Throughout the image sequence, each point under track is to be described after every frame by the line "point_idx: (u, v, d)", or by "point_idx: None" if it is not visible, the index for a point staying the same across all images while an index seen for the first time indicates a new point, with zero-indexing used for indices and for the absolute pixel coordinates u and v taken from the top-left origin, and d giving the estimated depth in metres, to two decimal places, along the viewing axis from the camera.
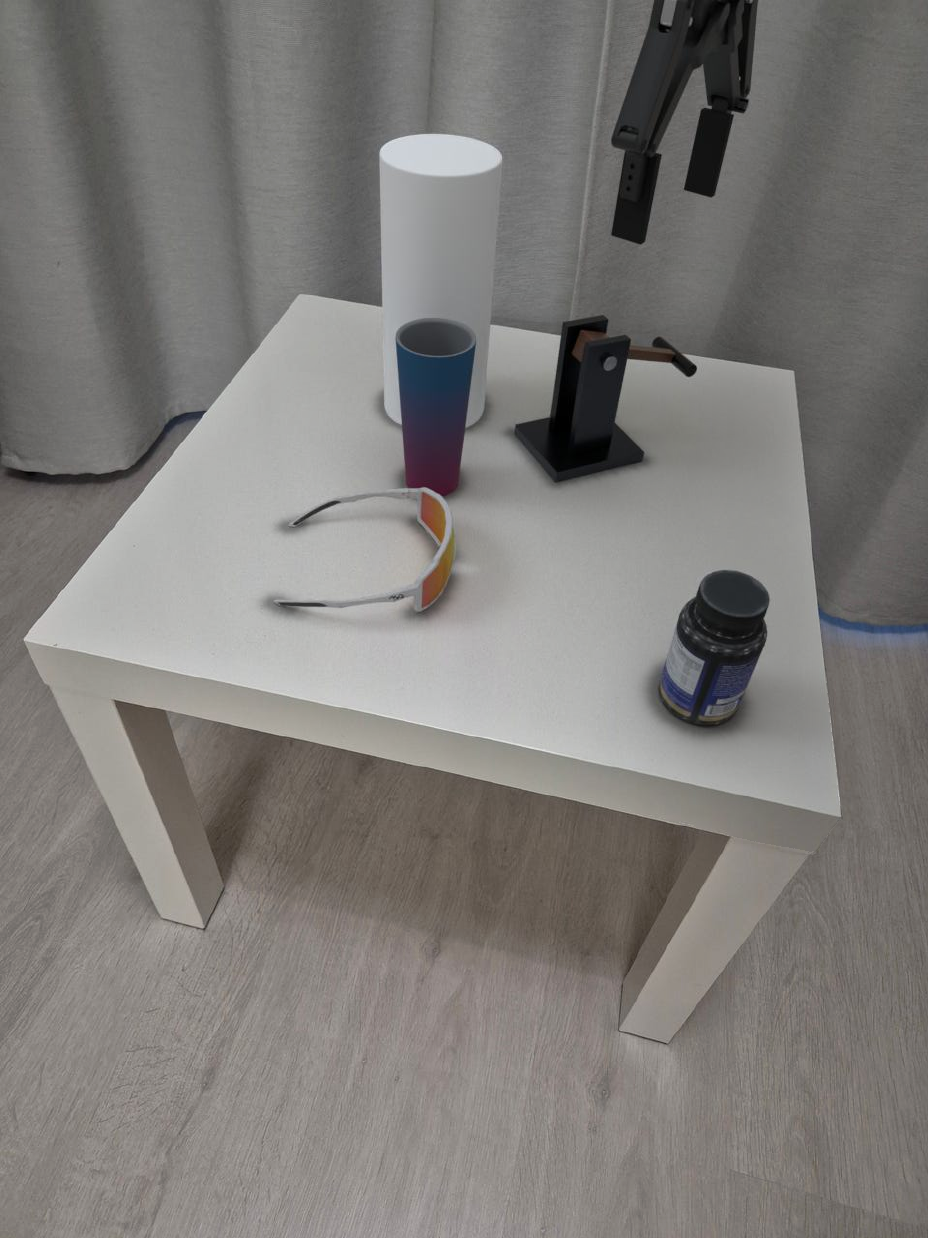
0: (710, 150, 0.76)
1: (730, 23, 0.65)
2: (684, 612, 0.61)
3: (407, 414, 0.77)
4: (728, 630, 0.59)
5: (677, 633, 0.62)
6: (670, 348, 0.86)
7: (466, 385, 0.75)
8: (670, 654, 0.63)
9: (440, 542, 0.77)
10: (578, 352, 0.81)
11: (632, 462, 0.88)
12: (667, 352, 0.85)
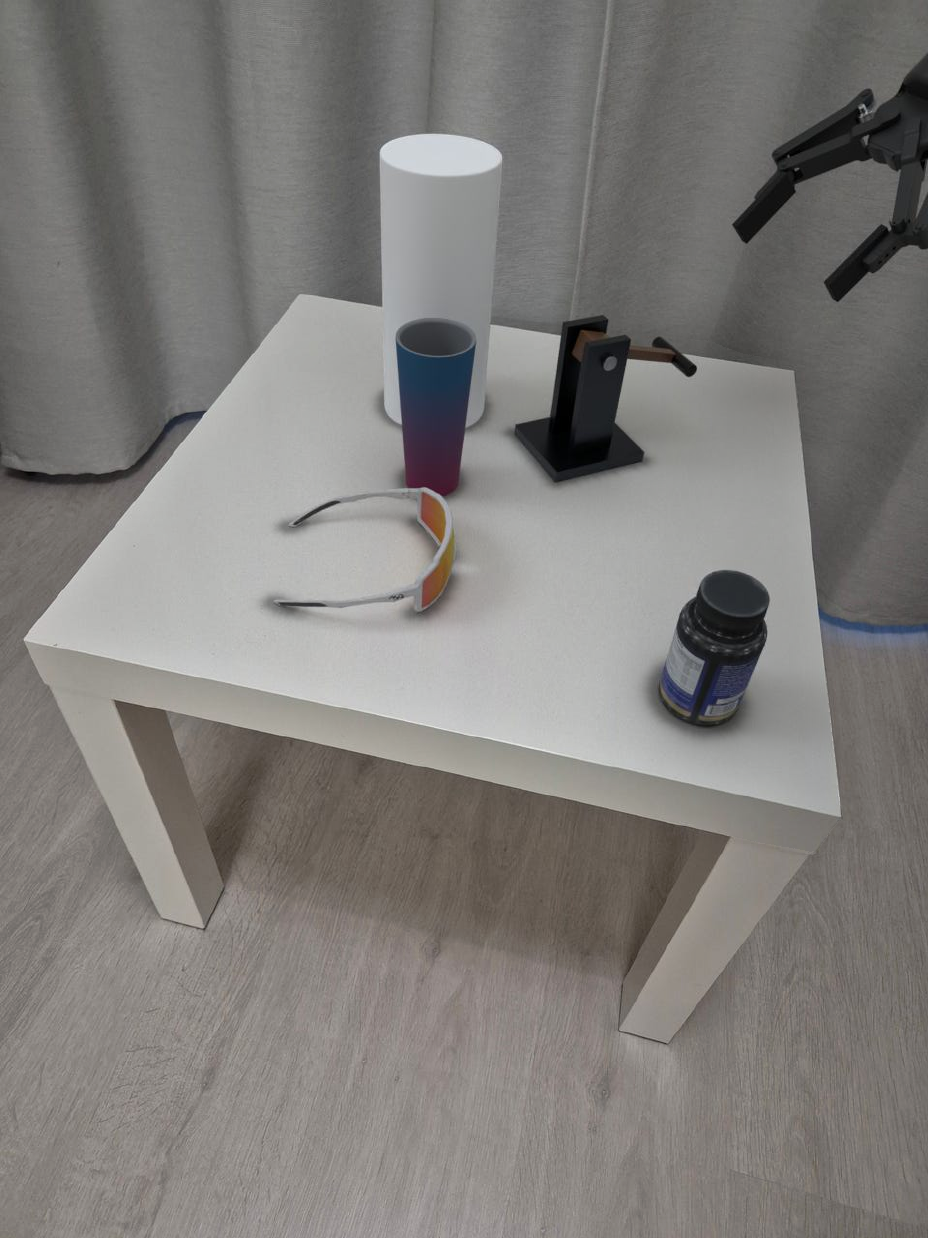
0: None
1: None
2: (684, 612, 0.61)
3: (407, 414, 0.77)
4: (729, 630, 0.59)
5: (677, 633, 0.62)
6: (670, 348, 0.86)
7: (466, 385, 0.75)
8: (670, 654, 0.63)
9: (440, 542, 0.77)
10: (578, 352, 0.81)
11: (632, 462, 0.88)
12: (667, 352, 0.85)
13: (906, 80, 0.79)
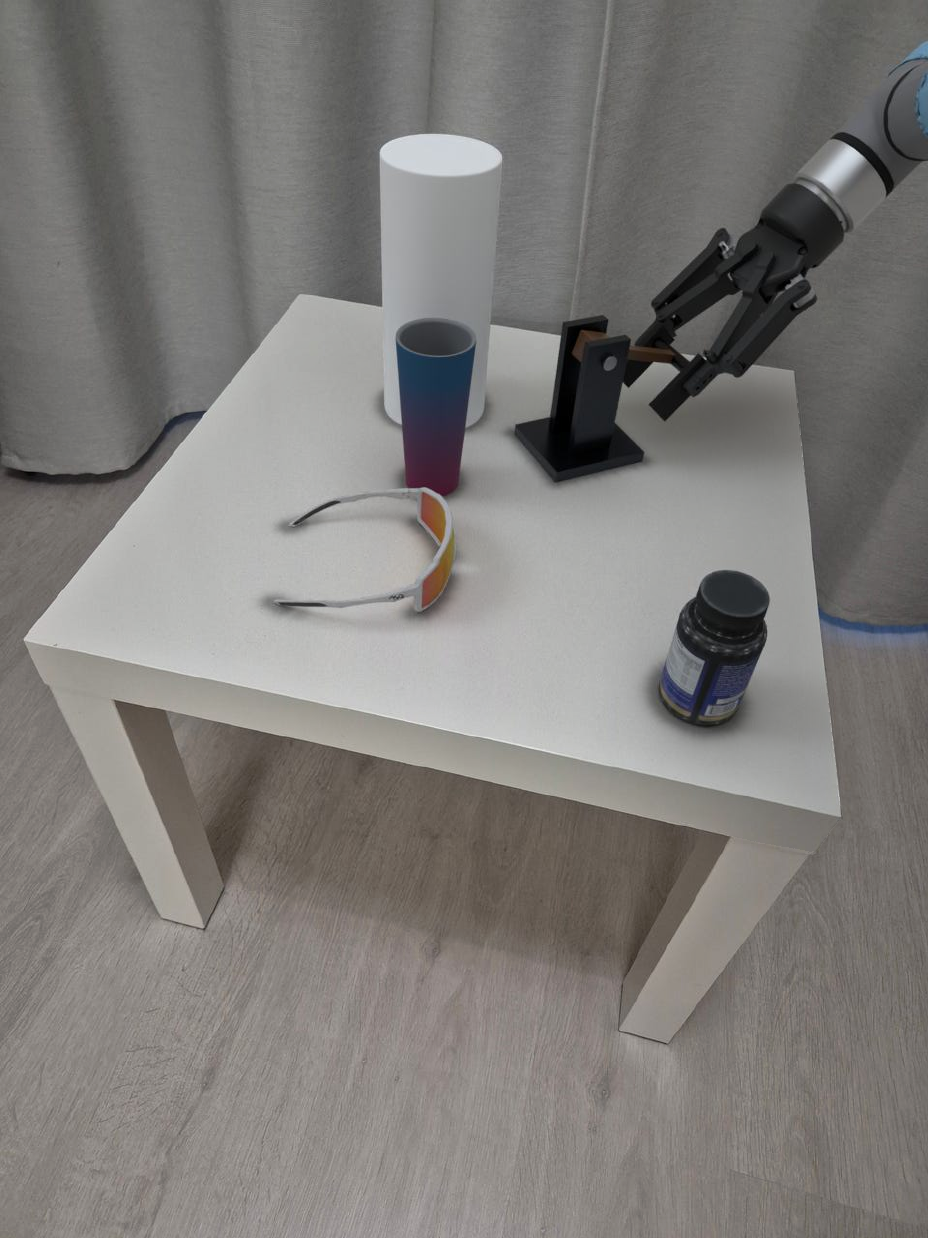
0: None
1: None
2: (684, 612, 0.61)
3: (407, 414, 0.77)
4: (729, 630, 0.59)
5: (677, 633, 0.62)
6: (669, 349, 0.86)
7: (466, 385, 0.75)
8: (670, 654, 0.63)
9: (440, 542, 0.77)
10: (578, 352, 0.81)
11: (632, 462, 0.88)
12: (667, 353, 0.85)
13: (762, 214, 0.82)
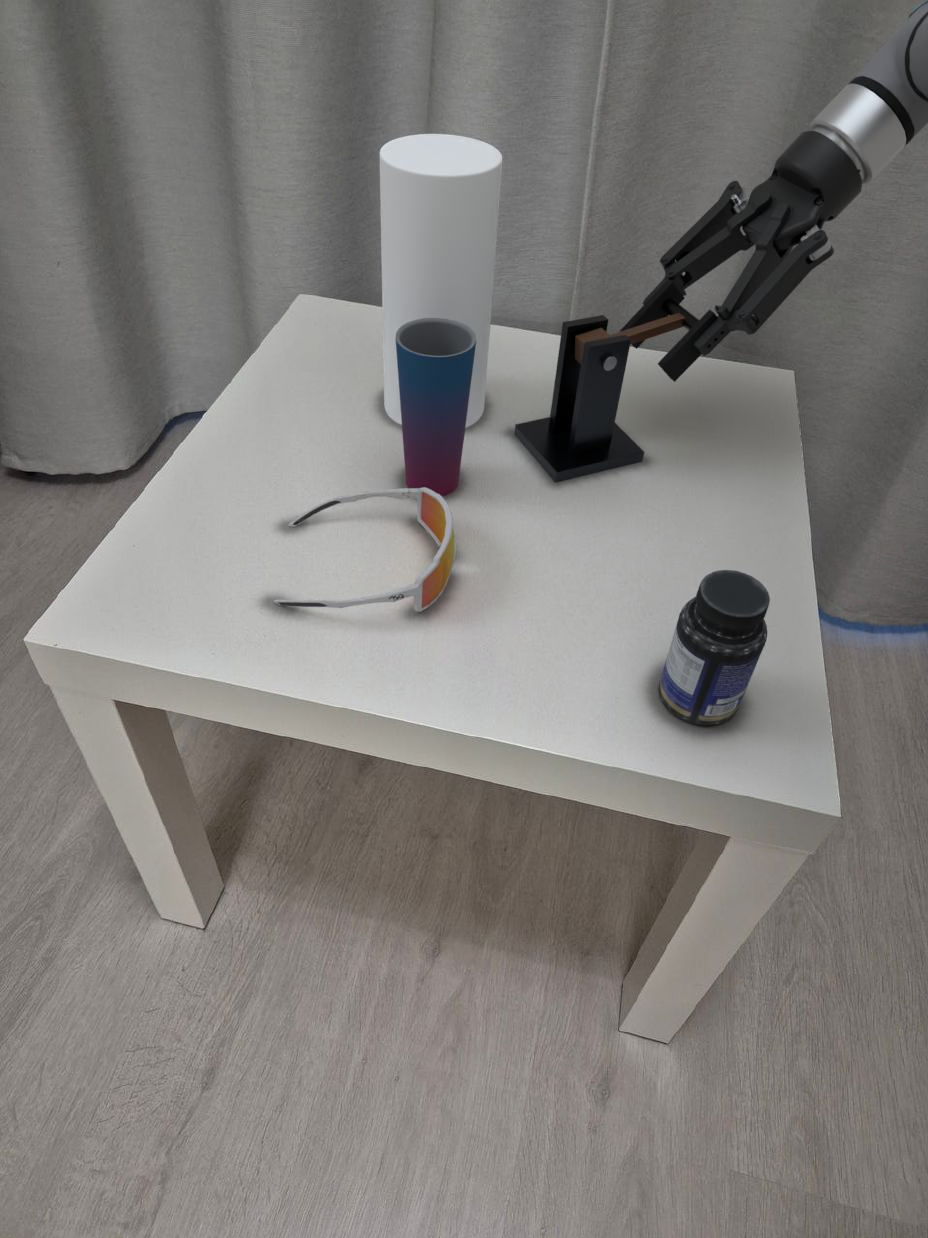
0: None
1: None
2: (684, 612, 0.61)
3: (407, 414, 0.77)
4: (729, 630, 0.59)
5: (677, 633, 0.62)
6: (678, 311, 0.84)
7: (466, 385, 0.75)
8: (670, 654, 0.63)
9: (440, 542, 0.77)
10: (580, 358, 0.82)
11: (632, 462, 0.88)
12: (675, 319, 0.83)
13: (776, 164, 0.79)
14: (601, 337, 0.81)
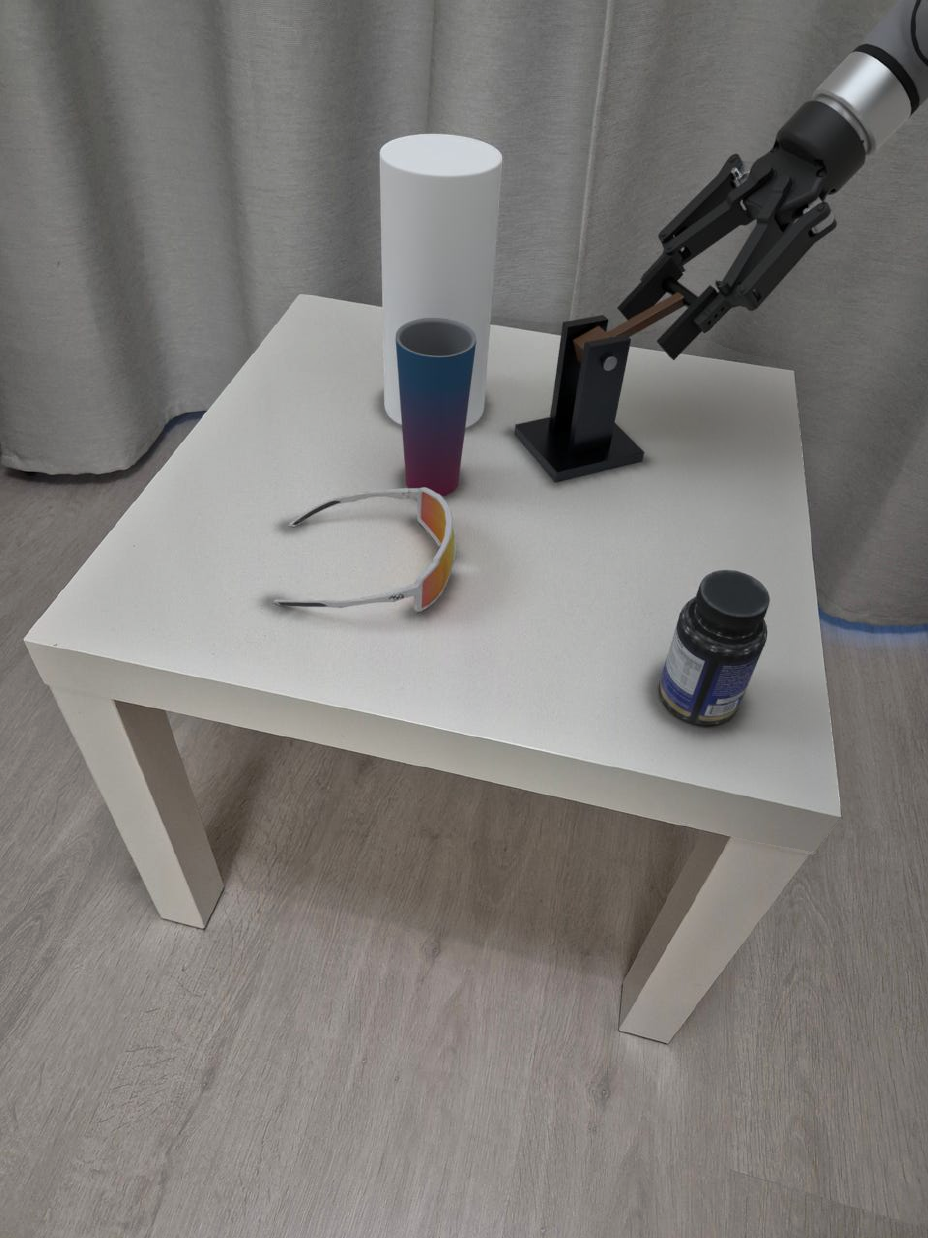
0: None
1: None
2: (684, 612, 0.61)
3: (407, 414, 0.77)
4: (729, 630, 0.59)
5: (677, 633, 0.62)
6: (677, 291, 0.82)
7: (466, 385, 0.75)
8: (670, 654, 0.63)
9: (440, 542, 0.77)
10: (581, 360, 0.82)
11: (632, 462, 0.88)
12: (674, 300, 0.81)
13: (777, 136, 0.77)
14: (598, 337, 0.80)
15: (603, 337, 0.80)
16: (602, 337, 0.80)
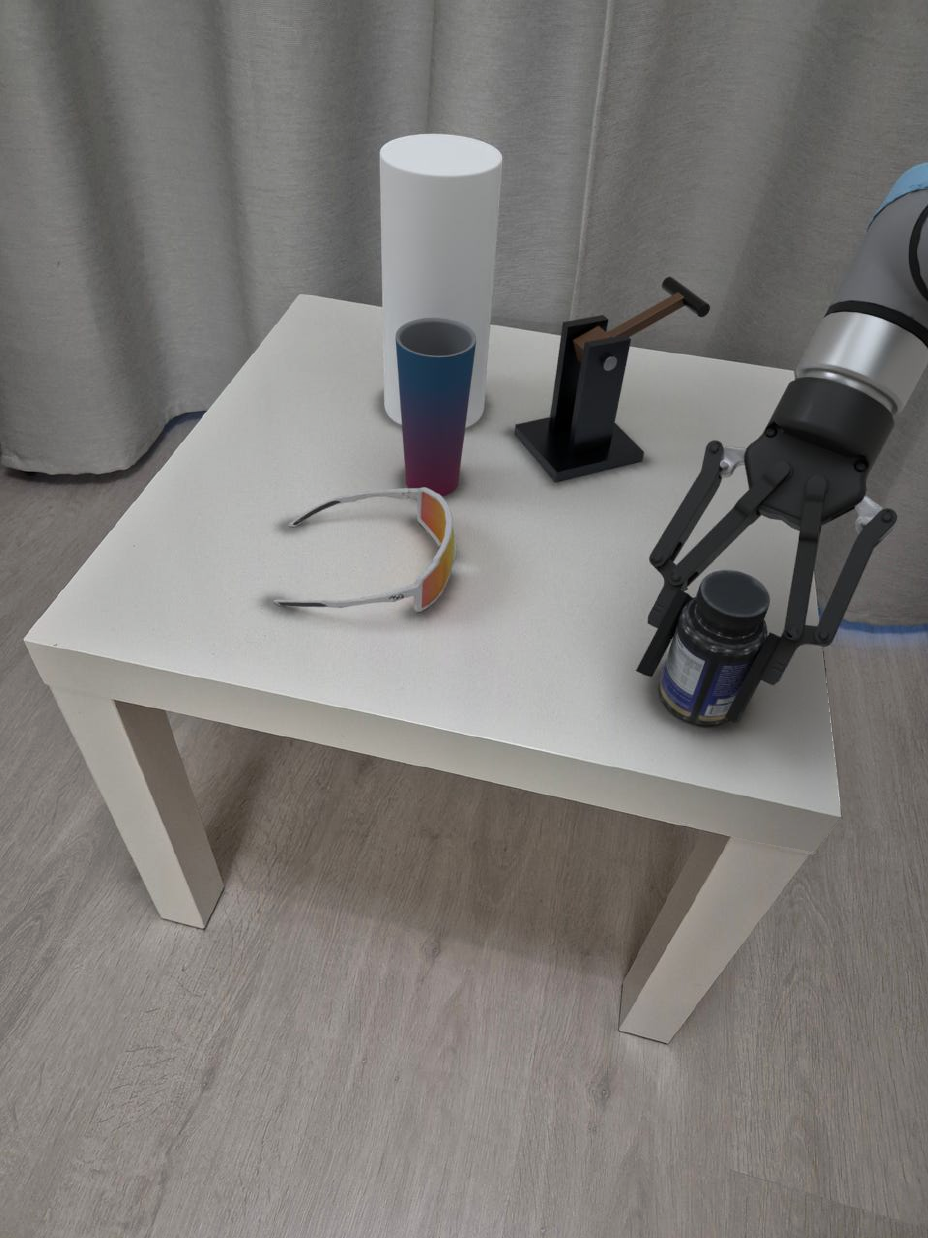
0: None
1: None
2: (684, 612, 0.61)
3: (407, 414, 0.77)
4: (729, 630, 0.59)
5: (677, 633, 0.62)
6: (677, 291, 0.82)
7: (466, 385, 0.75)
8: (670, 654, 0.63)
9: (440, 542, 0.77)
10: (581, 360, 0.82)
11: (632, 462, 0.88)
12: (674, 300, 0.81)
13: (784, 425, 0.59)
14: (598, 337, 0.80)
15: (603, 337, 0.80)
16: (602, 337, 0.80)
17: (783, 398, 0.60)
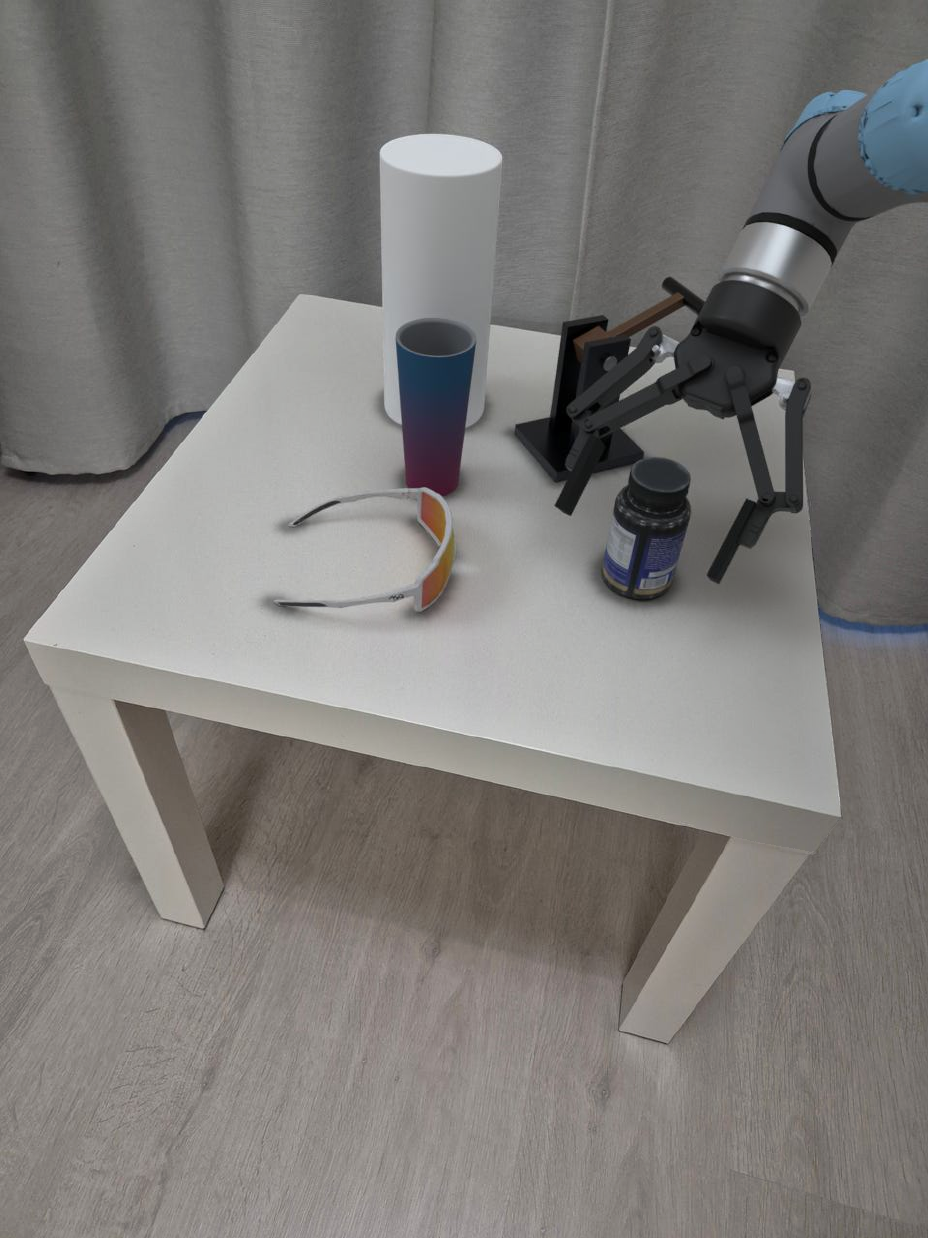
0: None
1: (728, 387, 0.68)
2: (619, 494, 0.70)
3: (407, 414, 0.77)
4: (655, 505, 0.68)
5: (613, 514, 0.71)
6: (677, 291, 0.82)
7: (466, 385, 0.75)
8: (609, 535, 0.73)
9: (440, 542, 0.77)
10: (581, 360, 0.82)
11: (632, 462, 0.88)
12: (674, 300, 0.81)
13: (706, 322, 0.68)
14: (598, 337, 0.80)
15: (603, 337, 0.80)
16: (602, 337, 0.80)
17: (706, 301, 0.69)
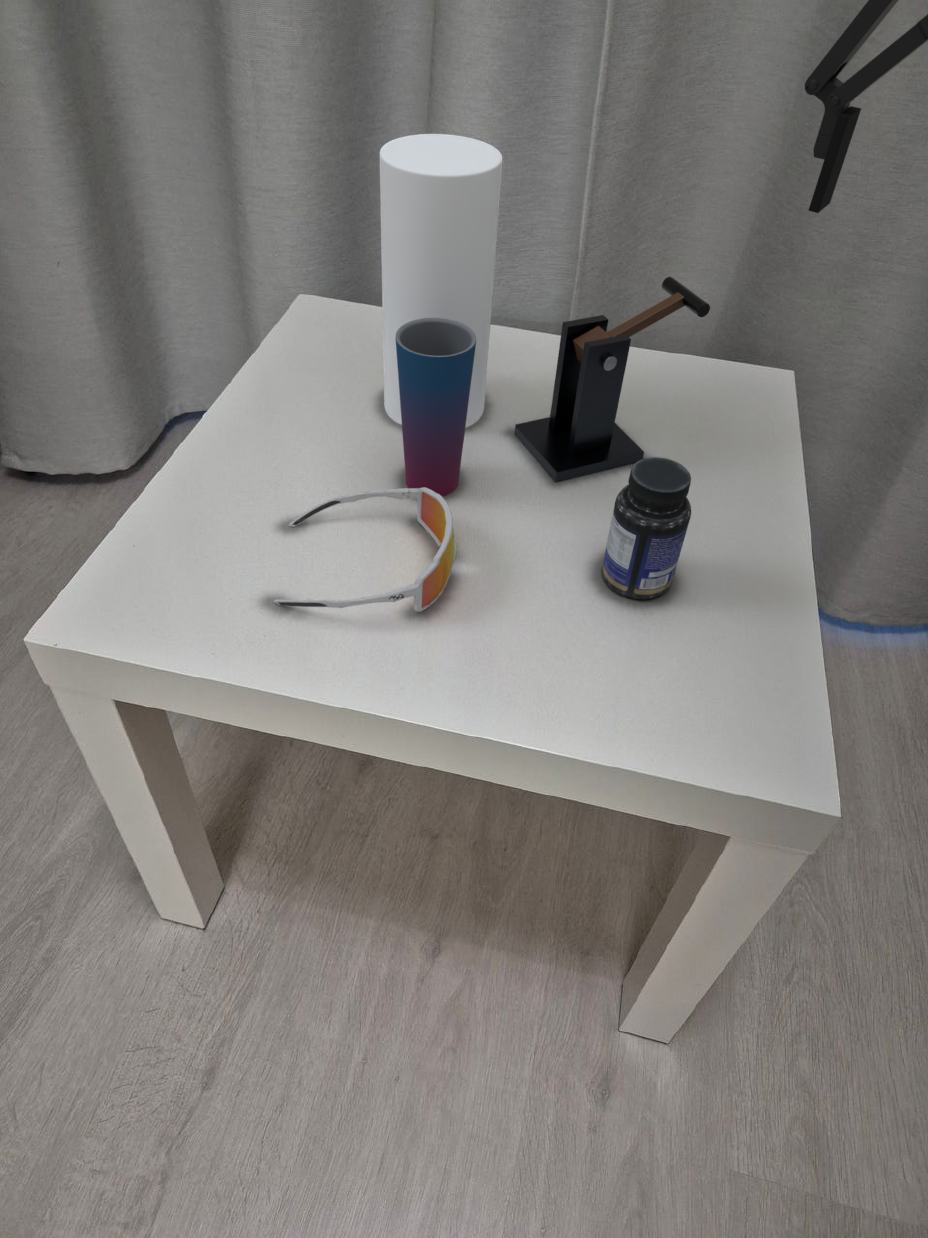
0: None
1: None
2: (619, 494, 0.70)
3: (407, 414, 0.77)
4: (655, 506, 0.68)
5: (614, 514, 0.71)
6: (677, 291, 0.82)
7: (466, 385, 0.75)
8: (609, 535, 0.73)
9: (440, 542, 0.77)
10: (581, 360, 0.82)
11: (632, 462, 0.88)
12: (674, 300, 0.81)
13: None
14: (598, 337, 0.80)
15: (603, 337, 0.80)
16: (602, 337, 0.80)
17: None
